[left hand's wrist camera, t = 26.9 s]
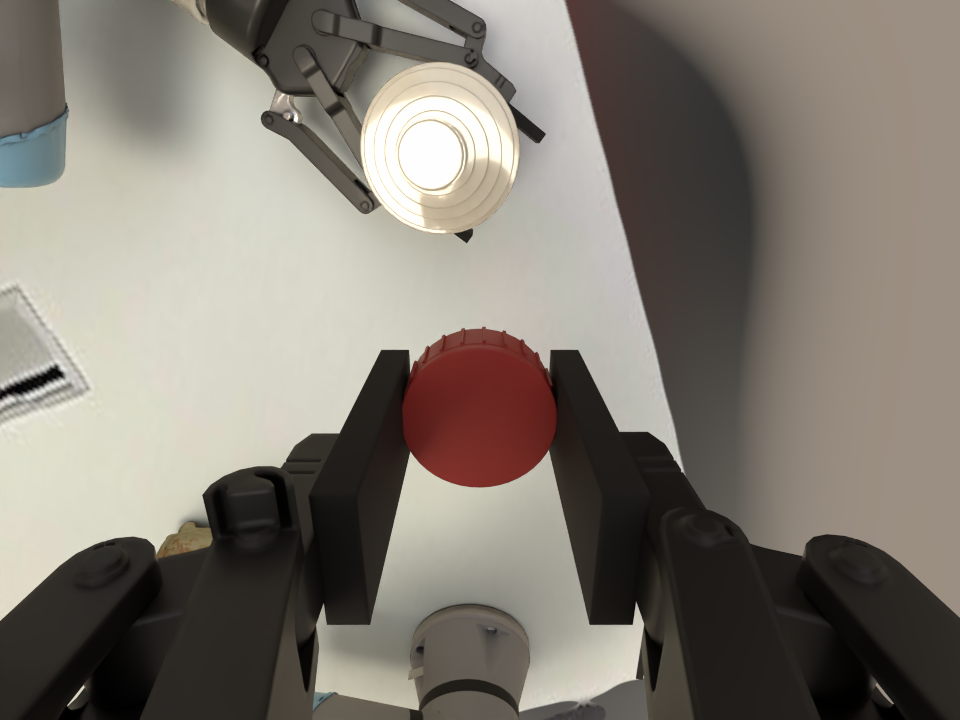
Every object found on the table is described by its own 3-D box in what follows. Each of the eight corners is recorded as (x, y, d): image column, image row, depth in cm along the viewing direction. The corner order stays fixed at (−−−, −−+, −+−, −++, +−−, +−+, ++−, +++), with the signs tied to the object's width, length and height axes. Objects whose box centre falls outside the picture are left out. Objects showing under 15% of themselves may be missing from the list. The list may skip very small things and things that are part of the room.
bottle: (456, 72, 43) (425, -11, 19) (524, 148, 45) (569, 156, 22) (391, 148, 45) (291, 154, 22) (458, 217, 47) (434, 290, 24)
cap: (432, 471, 15) (427, 504, 14) (385, 348, 14) (374, 370, 13) (565, 438, 15) (574, 469, 14) (532, 308, 14) (537, 326, 12)
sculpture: (236, 561, 63) (166, 680, 49) (175, 546, 62) (87, 662, 48) (244, 525, 61) (173, 639, 47) (181, 508, 60) (91, 619, 46)
